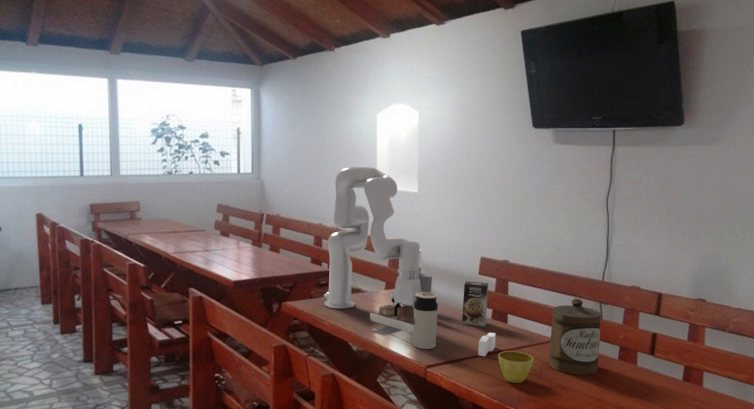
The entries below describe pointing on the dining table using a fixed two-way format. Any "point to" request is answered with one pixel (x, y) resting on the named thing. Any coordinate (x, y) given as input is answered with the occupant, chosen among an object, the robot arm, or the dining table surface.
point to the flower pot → (515, 365)
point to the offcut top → (386, 309)
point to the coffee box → (475, 303)
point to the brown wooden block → (405, 314)
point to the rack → (391, 322)
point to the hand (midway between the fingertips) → (407, 318)
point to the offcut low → (387, 315)
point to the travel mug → (425, 320)
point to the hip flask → (424, 283)
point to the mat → (386, 330)
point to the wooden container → (575, 339)
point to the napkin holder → (486, 344)
